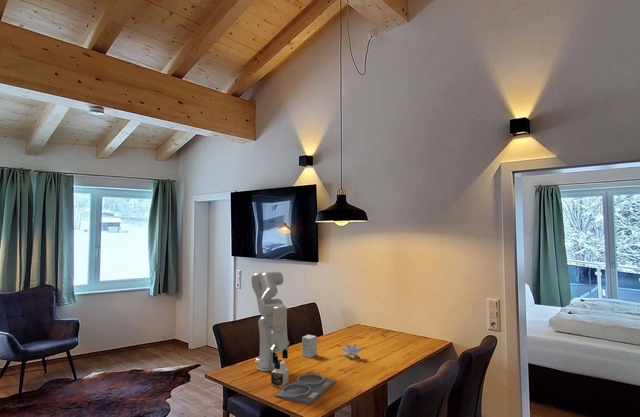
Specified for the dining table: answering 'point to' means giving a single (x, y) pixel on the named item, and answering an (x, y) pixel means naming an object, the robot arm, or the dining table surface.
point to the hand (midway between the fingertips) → (280, 360)
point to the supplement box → (309, 346)
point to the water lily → (351, 350)
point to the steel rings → (300, 384)
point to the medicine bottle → (279, 374)
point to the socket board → (314, 391)
